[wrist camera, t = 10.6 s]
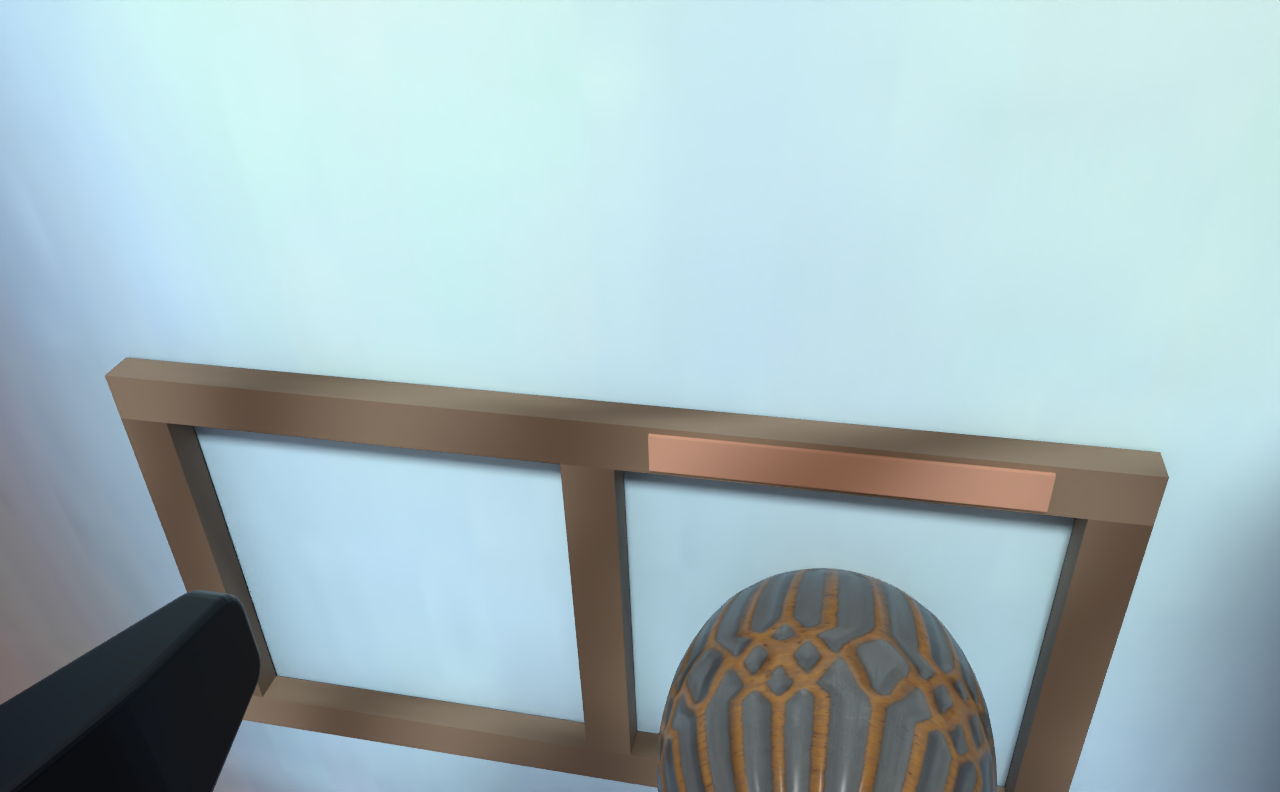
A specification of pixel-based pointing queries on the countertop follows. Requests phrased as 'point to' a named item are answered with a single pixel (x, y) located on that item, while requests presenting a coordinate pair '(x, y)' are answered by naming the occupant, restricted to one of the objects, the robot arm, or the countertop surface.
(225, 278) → the countertop surface
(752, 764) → the vase
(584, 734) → the rail frame
